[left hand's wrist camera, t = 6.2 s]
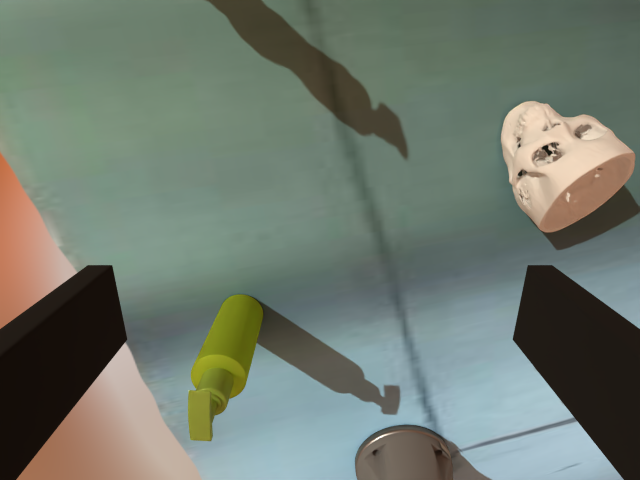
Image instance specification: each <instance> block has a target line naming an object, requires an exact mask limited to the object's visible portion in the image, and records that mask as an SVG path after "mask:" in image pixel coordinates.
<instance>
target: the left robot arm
mask: <svg viewBox="0 0 640 480" xmlns="http://www.w3.org/2000/svg"><path fill="white" fill-rule="evenodd" d="M126 340H127V336H126V331H125V326H124V321H123V316H122V311H121V306H120V301H119V297H118V292H117V287H116V282H115V277H114V272H113V267H112V265H88V266H86V267H85V268H84V269H82V270H81V271H79V272H78V273H77V274H75V275H74V276H73V277H71V278H70V279H68V280H67V281H66V282H64V283H63V284H62V285H60V286H59V287H58V288H56V289H55V290H53V291H52V292H51V293H49V294H48V295H46V296H45V297H44V298H42V299H41V300H40V301H38V302H37V303H36V304H34V305H33V306H31V307H30V308H29V309H27V310H26V311H25V312H23V313H22V314H20V315H19V316H18V317H16V318H15V319H14V320H12V321H11V322H9V323H8V324H7V325H5V326H4V327H3V328H1V329H0V480H16V479H17V478H18V477H19V475H20V474H21V473H22V471H23V470H24V469H25V468H26V466H27V465H28V464H29V463H30V461H31V460H32V459H33V458H34V456H35V455H36V454H37V453H38V451H39V450H40V449H41V448H42V446H43V445H44V444H45V442H46V441H47V440H48V439H49V437H50V436H51V435H52V434H53V432H54V431H55V430H56V429H57V427H58V426H59V425H60V424H61V422H62V421H63V420H64V418H65V417H66V416H67V415H68V414H69V412H70V411H71V410H72V408H73V407H74V406H75V405H76V403H77V402H78V401H79V400H80V398H81V397H82V396H83V395H84V393H85V392H86V391H87V390H88V388H89V387H90V386H91V385H92V383H93V382H94V381H95V379H96V378H97V377H98V376H99V374H100V373H101V372H102V371H103V369H104V368H105V367H106V366H107V364H108V363H109V362H110V361H111V359H112V358H113V357H114V356H115V354H116V353H117V352H118V350H119V349H120V348H121V347H122V345H123V344H124V343H125V342H126ZM513 340H514V342H515V343H516V344H517V345H518V347H519V348H520V349H521V350H522V352H523V353H524V354H525V356H526V357H527V358H528V359H529V361H530V362H531V363H532V364H533V366H534V367H535V368H536V369H537V371H538V372H539V373H540V374H541V376H542V377H543V378H544V379H545V381H546V382H547V383H548V385H549V386H550V387H551V388H552V390H553V391H554V392H555V393H556V395H557V396H558V397H559V398H560V400H561V401H562V402H563V403H564V405H565V406H566V407H567V408H568V410H569V411H570V412H571V414H572V415H573V416H574V417H575V419H576V420H577V421H578V422H579V424H580V425H581V426H582V427H583V429H584V430H585V431H586V432H587V434H588V435H589V436H590V437H591V439H592V440H593V441H594V443H595V444H596V445H597V446H598V448H599V449H600V450H601V451H602V453H603V454H604V455H605V456H606V458H607V459H608V460H609V461H610V463H611V464H612V465H613V466H614V468H615V469H616V470H617V472H618V473H619V474H620V475H621V477H622V478H623V479H624V480H640V329H639V328H637V327H636V326H635V325H633V324H632V323H631V322H629V321H628V320H626V319H625V318H624V317H622V316H621V315H620V314H618V313H617V312H615V311H614V310H613V309H611V308H610V307H609V306H607V305H606V304H604V303H603V302H602V301H600V300H599V299H598V298H596V297H595V296H594V295H592V294H591V293H589V292H588V291H587V290H585V289H584V288H583V287H581V286H580V285H578V284H577V283H576V282H574V281H573V280H572V279H570V278H569V277H567V276H566V275H565V274H563V273H562V272H561V271H559V270H558V269H556V268H555V267H554V266H552V265H528V267H527V272H526V277H525V282H524V287H523V292H522V297H521V301H520V306H519V311H518V316H517V321H516V326H515V331H514V336H513ZM355 469H356V476H357V479H358V480H453V465H452V460H451V455H450V453H449V450H448V448H447V445H446V444H445V442H444V441H443V440H442V438H440V437H439V436H438V435H437V434H436V433H434V432H432V431H430V430H428V429H426V428H423V427H419V426H413V425H399V426H392V427H388V428H385V429H382V430H380V431H378V432H376V433H374V434H373V435H371V436H370V437H368V438H367V439H366V440H365V441H364V442H363V443H362V445H361V446H360V448H359V449H358V451H357V454H356V458H355Z"/></svg>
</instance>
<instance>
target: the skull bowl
mask: <svg viewBox="0 0 640 480" xmlns="http://www.w3.org/2000/svg"><path fill="white" fill-rule="evenodd" d="M520 138H521V140H520ZM552 142H553V144H554V142H555V144H556V147H557V148H556V147H555V146H554V145H553V147H554V148H553V147H552V145H551V143H552ZM557 143H558V144H559V146H558V145H557ZM501 144H502V149H503V157H504V160H505V162H506V164H507V167H508V171H509V182H510V183H511V184H512V185H513V186H512V188H513V192H514V195H515V199H516V201H517V203H518V205H519V207H520V208H521V209H522V210H523V211H524V212H525V213H526V214H527V215H528V216H529V217H530V218H531V219H532V220H533V221H534V223H535V224H536V225H537V227H538V228H539V229H540V230H541V231H543V232H555V231H558V230H560V229H563V228H565V227H567V226H569V225H571V224H573V223H574V222H576V221H578V220H580V219H581V218H583V217H585V216H587V215H588V214H590V213H591V212H593V211H594V210H596V209H597V208H598V207H600V206H601V205H602V204H603V203H605V202H606V201H607V200H608V199H609V198H611V197H612V196H613V195H614V194H615V193H616V192H617V191H618V190H619V189H620V188H621V187H622V186H623V185H624V184H625V183H626V181H627V180H628V179H629V178H630V176H631V174H632V173H633V170H634V165H635V164H634V162H635V154H634V152H633V151H632V150H631V149H630V148H629V147H627V146H626V145H625V144H624V143H623V142H621V141H620V140H619V139H618V138H617V137H616V136H615V135H614V133H613V131H612V130H610V129H608V128H607V127H605V126H604V125H602V124H601V123H600V122H599V121H598V120H597V119H595V118H594V117H592V116H589V115H579V116H576V117H572V118H567V117H562V116H561V115H560V114H558V113H557V112H555V110H554V109H553V108H551V107H550V105H548V104H542V103H539V102H536V101H528V102H524V103H521V104H520V105H518V106H516V107H515V108H514V109H512V110H511V111H510V112H509V113H508V115H507V116H506V118H505V120H504V123H503V128H502V133H501ZM519 144H520V145H521V147H519ZM545 145H548V146H549V148H548V149H549V150H551V151H552V152H553V154H551V155H550V156H549V155H548V154H547V153H546V151H545V150H542V146H545ZM518 147H519V148H518ZM553 150H554V151H555V154H554V151H553ZM544 152H545V153H544ZM521 170H522V176H520V177H519V176H518V173H519V172H520V171H521ZM525 171H527V173H525Z"/></svg>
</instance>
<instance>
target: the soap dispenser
mask: <svg viewBox="0 0 640 480" xmlns="http://www.w3.org/2000/svg"><path fill="white" fill-rule="evenodd" d="M262 319H263V310H262V307H261V305H260V304H259V302H258V301H257V300H255V299H254V298H252V297H250V296H247V295H242V294H239V295H233V296H231V297H229V298H227V299H226V300H225V301H224V302H223V304H222V306H221V308H220V310H219V312H218V314H217V317H216V319H215V321H214V323H213V325H212V327H211V329H210V331H209V334H208V336H207V338H206V340H205V342H204V344H203V346H202V348H201V351H200V353H199V355H198V357H197V359H196V361H195V363H194V365H193V368H192V370H191V380H192V383H193V385H194V386H195V388H196V391H193V390H189V396H188V420H189V431H190V440H200V441H211V440H212V437H213V432H212V422H213V419H214V416H215V415H218V414H220V413H222V412H223V411H224V410H225V409H226V407H227V404H228V401H229V399H230V398H233V397H235V396H237V395H238V394H239V393H241V392H242V390H243V389H244V387H245V385H246V381H247V378H248V374H249V370H250V366H251V362H252V358H253V354H254V350H255V347H256V343H257V339H258V335H259V331H260V327H261V323H262Z"/></svg>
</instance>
